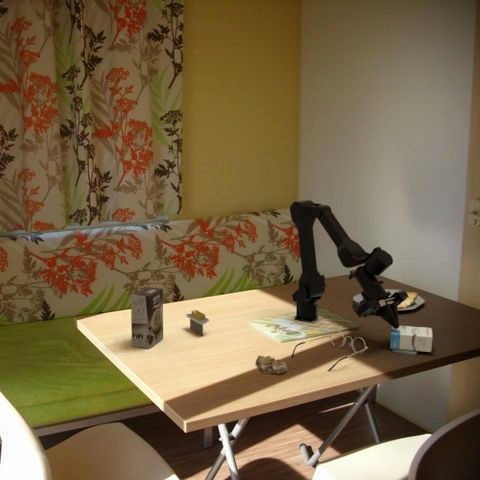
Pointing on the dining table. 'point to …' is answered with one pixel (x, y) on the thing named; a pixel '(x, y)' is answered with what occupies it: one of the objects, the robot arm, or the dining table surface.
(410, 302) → the food plate
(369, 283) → the robot arm
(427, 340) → the ink box
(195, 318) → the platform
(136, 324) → the coffee box
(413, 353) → the mat
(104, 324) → the dining table surface
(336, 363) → the eyeglasses
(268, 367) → the mineral rock
